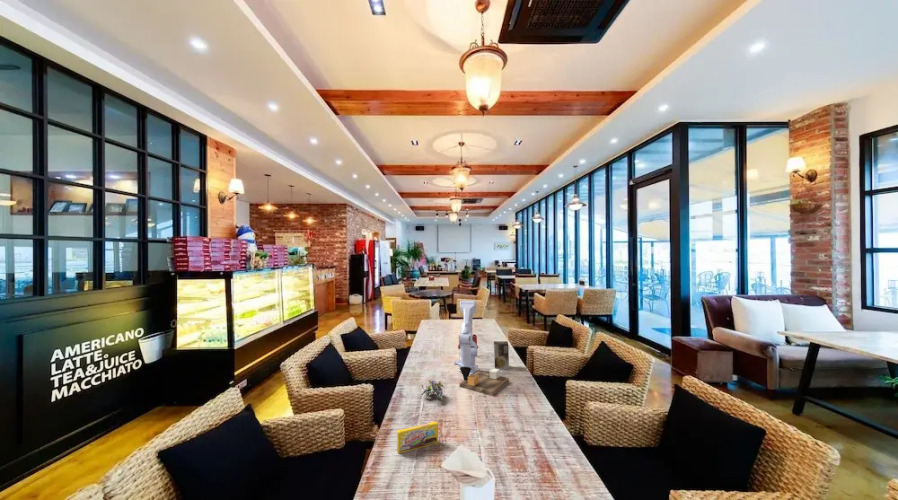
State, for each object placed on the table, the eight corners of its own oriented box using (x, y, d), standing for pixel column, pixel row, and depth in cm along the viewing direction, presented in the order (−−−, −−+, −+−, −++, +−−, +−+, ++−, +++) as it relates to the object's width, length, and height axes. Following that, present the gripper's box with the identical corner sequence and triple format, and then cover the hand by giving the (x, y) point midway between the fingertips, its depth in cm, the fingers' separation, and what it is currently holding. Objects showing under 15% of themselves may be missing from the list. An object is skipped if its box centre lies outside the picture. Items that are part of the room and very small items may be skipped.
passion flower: (440, 409, 166) (445, 396, 159) (419, 407, 164) (423, 394, 158) (440, 389, 175) (445, 375, 169) (420, 387, 174) (424, 373, 167)
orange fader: (467, 384, 177) (467, 376, 177) (472, 381, 181) (472, 373, 181) (474, 386, 175) (473, 378, 175) (478, 382, 179) (478, 375, 179)
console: (458, 387, 179) (458, 384, 179) (478, 374, 197) (478, 370, 197) (490, 396, 167) (490, 392, 167) (509, 381, 186) (509, 377, 186)
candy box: (398, 454, 122) (398, 432, 122) (396, 451, 124) (396, 429, 124) (438, 443, 129) (438, 422, 128) (436, 440, 131) (436, 420, 130)
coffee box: (508, 366, 210) (507, 341, 209) (509, 369, 203) (508, 344, 203) (494, 365, 211) (493, 340, 210) (494, 369, 204) (494, 343, 204)
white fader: (489, 377, 185) (489, 370, 185) (493, 375, 189) (493, 368, 189) (496, 379, 183) (495, 372, 183) (499, 376, 187) (499, 369, 187)
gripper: (450, 355, 181) (451, 379, 182) (473, 360, 173) (473, 385, 173) (457, 351, 187) (458, 375, 187) (479, 356, 179) (480, 380, 179)
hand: (466, 380), depth 181 cm, fingers closed
